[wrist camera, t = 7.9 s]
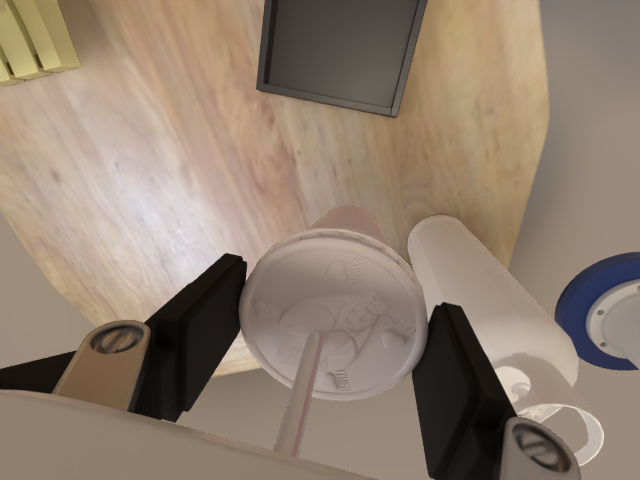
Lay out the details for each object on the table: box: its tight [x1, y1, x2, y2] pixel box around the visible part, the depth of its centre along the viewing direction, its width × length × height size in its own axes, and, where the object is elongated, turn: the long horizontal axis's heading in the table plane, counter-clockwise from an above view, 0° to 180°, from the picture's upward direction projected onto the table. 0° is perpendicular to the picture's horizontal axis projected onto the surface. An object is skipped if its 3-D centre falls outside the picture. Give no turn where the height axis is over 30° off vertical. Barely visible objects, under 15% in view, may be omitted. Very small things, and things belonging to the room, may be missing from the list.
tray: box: [256, 0, 427, 118], centre depth 34 cm, size 17×14×2 cm
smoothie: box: [239, 205, 428, 457], centre depth 13 cm, size 6×6×14 cm
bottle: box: [407, 215, 604, 466], centre depth 29 cm, size 8×8×28 cm
